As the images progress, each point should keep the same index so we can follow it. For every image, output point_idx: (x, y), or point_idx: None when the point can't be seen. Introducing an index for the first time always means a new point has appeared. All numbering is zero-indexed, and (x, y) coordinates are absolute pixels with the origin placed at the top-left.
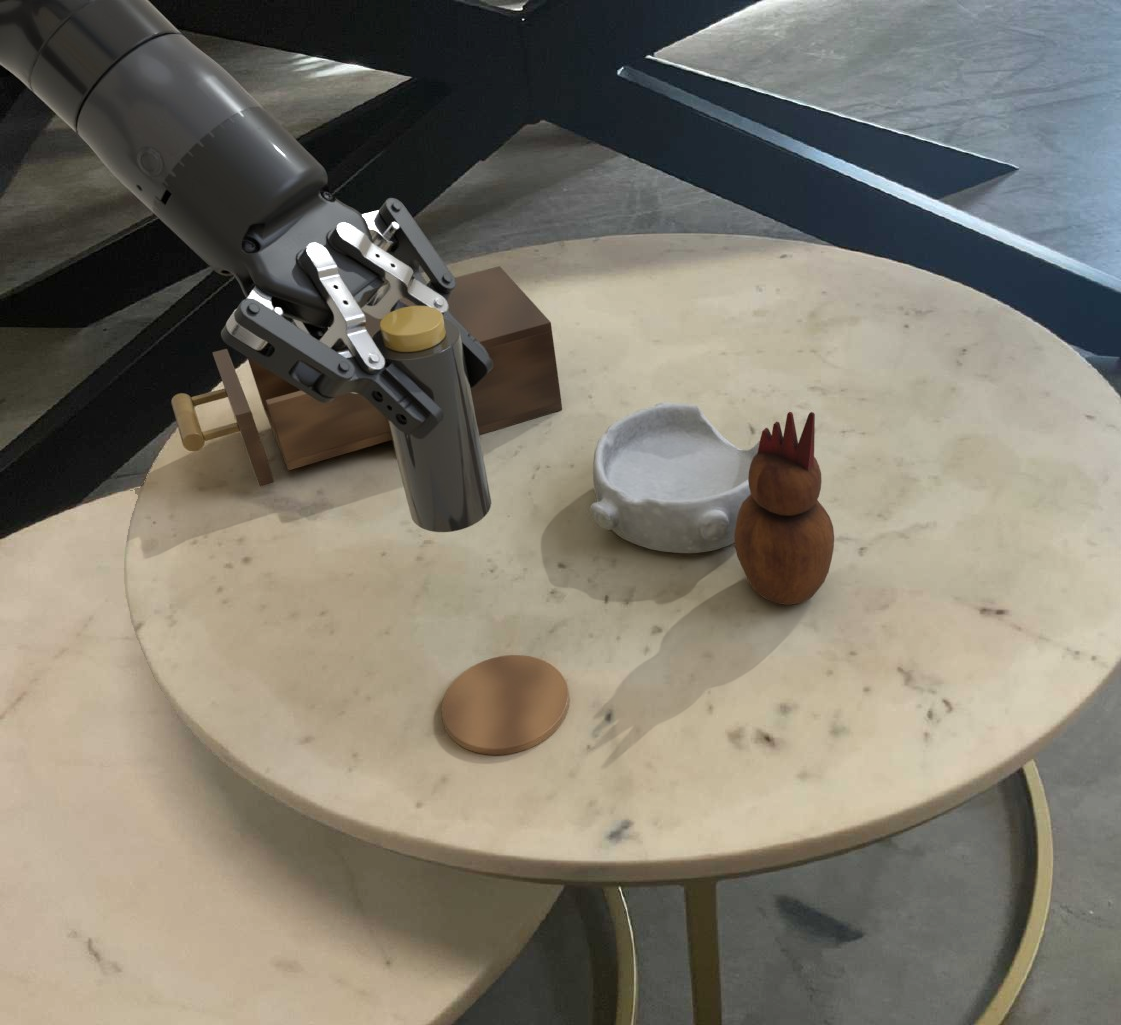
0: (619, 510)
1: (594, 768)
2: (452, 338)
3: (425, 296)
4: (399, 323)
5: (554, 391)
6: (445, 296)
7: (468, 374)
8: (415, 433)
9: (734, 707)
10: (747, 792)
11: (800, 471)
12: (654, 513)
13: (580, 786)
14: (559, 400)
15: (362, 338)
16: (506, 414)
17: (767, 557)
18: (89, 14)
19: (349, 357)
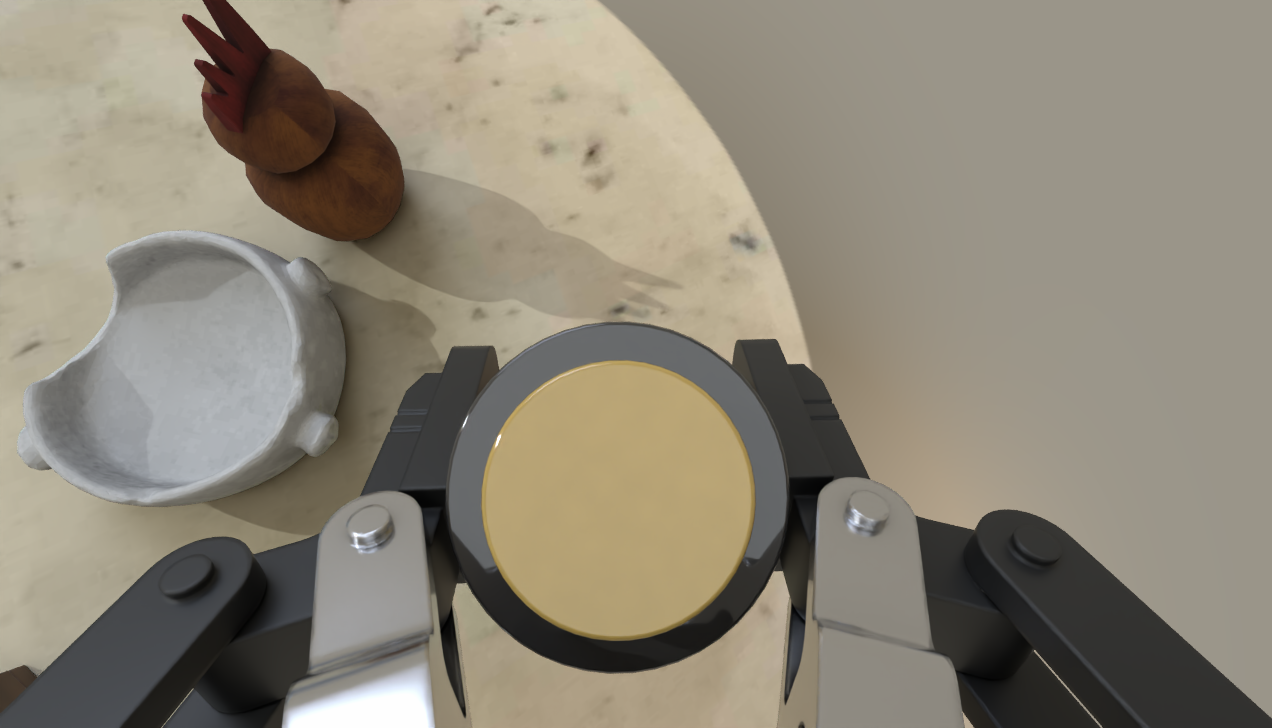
0: (313, 410)
1: (686, 295)
2: (583, 345)
3: (381, 577)
4: (665, 527)
5: None
6: (277, 558)
7: None
8: None
9: (563, 195)
10: (660, 150)
11: (277, 59)
12: (314, 353)
13: (711, 298)
14: (6, 674)
15: (858, 594)
16: None
17: (382, 164)
18: None
19: (928, 596)
